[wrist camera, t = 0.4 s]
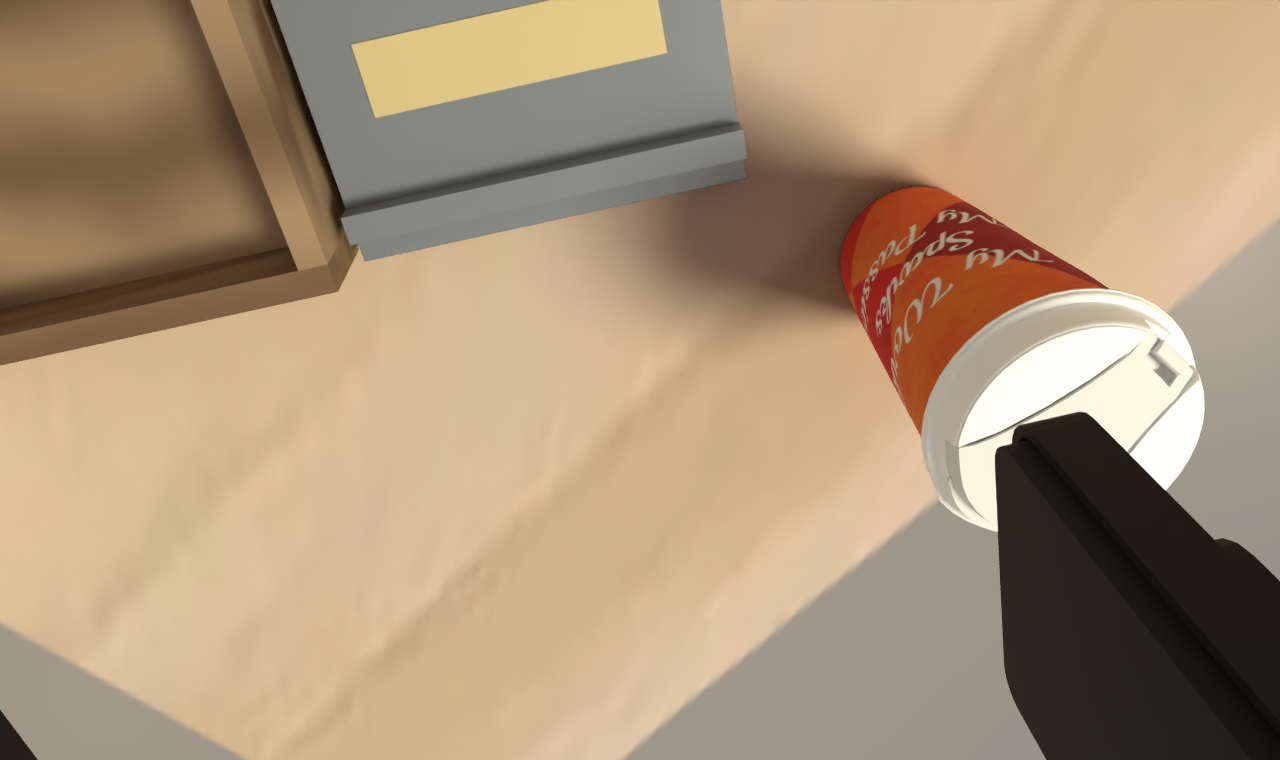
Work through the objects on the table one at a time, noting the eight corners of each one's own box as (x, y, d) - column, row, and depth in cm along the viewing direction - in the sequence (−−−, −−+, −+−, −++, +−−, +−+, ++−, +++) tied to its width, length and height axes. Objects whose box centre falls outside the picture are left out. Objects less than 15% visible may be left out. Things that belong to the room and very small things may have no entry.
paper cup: (914, 115, 35) (1108, 249, 23) (1044, 238, 38) (1280, 416, 26) (769, 273, 38) (875, 470, 26) (901, 378, 41) (1054, 601, 28)
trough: (-288, 16, 31) (-396, 35, 27) (230, -103, 30) (189, -99, 27) (-80, 346, 36) (-148, 397, 33) (358, 249, 36) (337, 291, 32)
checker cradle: (246, -107, 30) (222, -104, 28) (682, -206, 30) (693, -212, 28) (371, 246, 36) (360, 272, 34) (739, 166, 36) (751, 186, 34)
